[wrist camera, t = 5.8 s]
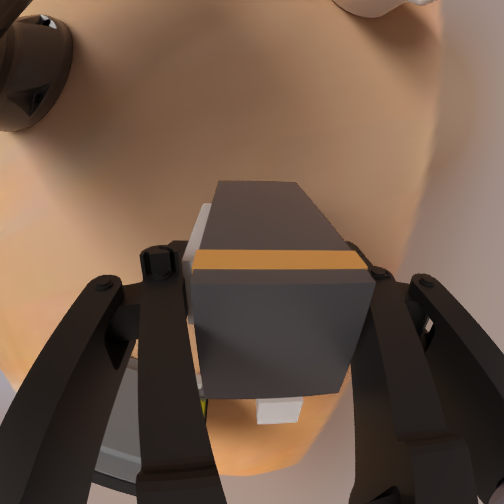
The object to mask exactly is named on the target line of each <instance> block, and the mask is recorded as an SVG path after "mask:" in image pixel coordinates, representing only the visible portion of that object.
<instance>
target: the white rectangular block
mask: <svg viewBox="0 0 504 504" xmlns="http://www.w3.org/2000/svg"><path fill="white" fill-rule="evenodd" d="M302 404H303V396H302V397H289V398H270V399H256V420H257V424H278V423H294V422H297V421H298V417H299V414H300V411H301V407H302Z"/></svg>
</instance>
